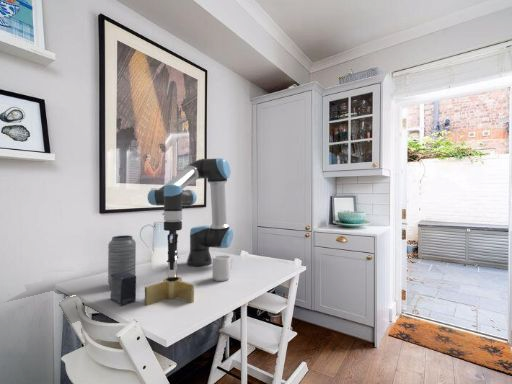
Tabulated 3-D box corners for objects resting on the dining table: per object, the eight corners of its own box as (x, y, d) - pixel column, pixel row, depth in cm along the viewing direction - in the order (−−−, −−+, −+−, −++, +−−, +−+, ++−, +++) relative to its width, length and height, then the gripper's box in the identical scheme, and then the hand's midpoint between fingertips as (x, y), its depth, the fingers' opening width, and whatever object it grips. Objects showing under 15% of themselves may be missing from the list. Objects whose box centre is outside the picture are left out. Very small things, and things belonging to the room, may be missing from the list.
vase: (105, 284, 128) (105, 236, 128) (131, 279, 136) (131, 234, 136) (111, 291, 119) (111, 239, 120) (138, 285, 127) (139, 237, 127)
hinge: (151, 293, 117) (151, 277, 117) (195, 291, 121) (195, 275, 121) (144, 305, 105) (144, 287, 105) (193, 302, 108) (193, 285, 108)
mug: (220, 283, 132) (220, 260, 132) (208, 279, 138) (209, 257, 138) (237, 277, 141) (237, 256, 141) (226, 273, 147) (226, 253, 147)
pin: (168, 282, 117) (168, 250, 117) (177, 281, 118) (178, 249, 118) (166, 285, 113) (167, 252, 113) (176, 284, 114) (177, 251, 114)
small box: (137, 301, 109) (137, 275, 109) (120, 306, 104) (120, 279, 104) (126, 294, 116) (126, 270, 116) (109, 299, 111) (110, 273, 111)
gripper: (166, 219, 123) (166, 270, 123) (160, 223, 107) (160, 282, 107) (183, 218, 124) (183, 269, 124) (180, 222, 108) (179, 281, 108)
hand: (172, 275), depth 115 cm, fingers closed on pin, 3 cm apart
